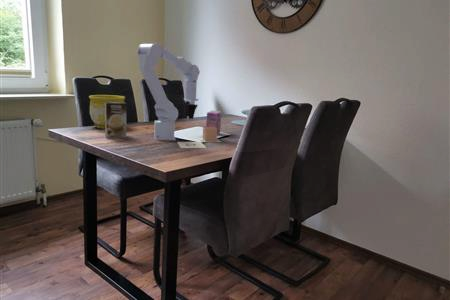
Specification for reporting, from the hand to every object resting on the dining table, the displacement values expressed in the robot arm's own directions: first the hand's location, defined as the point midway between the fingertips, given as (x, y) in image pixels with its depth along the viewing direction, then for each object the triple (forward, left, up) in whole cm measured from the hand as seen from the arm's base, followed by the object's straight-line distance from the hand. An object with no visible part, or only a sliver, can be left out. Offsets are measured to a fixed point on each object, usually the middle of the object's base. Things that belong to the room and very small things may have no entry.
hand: (189, 117), depth 169 cm
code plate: (-2, -22, -9) cm, 24 cm away
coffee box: (-35, -2, -10) cm, 36 cm away
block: (+8, -12, -9) cm, 17 cm away
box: (+14, +6, -10) cm, 18 cm away
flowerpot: (-40, +24, -10) cm, 48 cm away
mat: (+8, -12, -9) cm, 17 cm away
